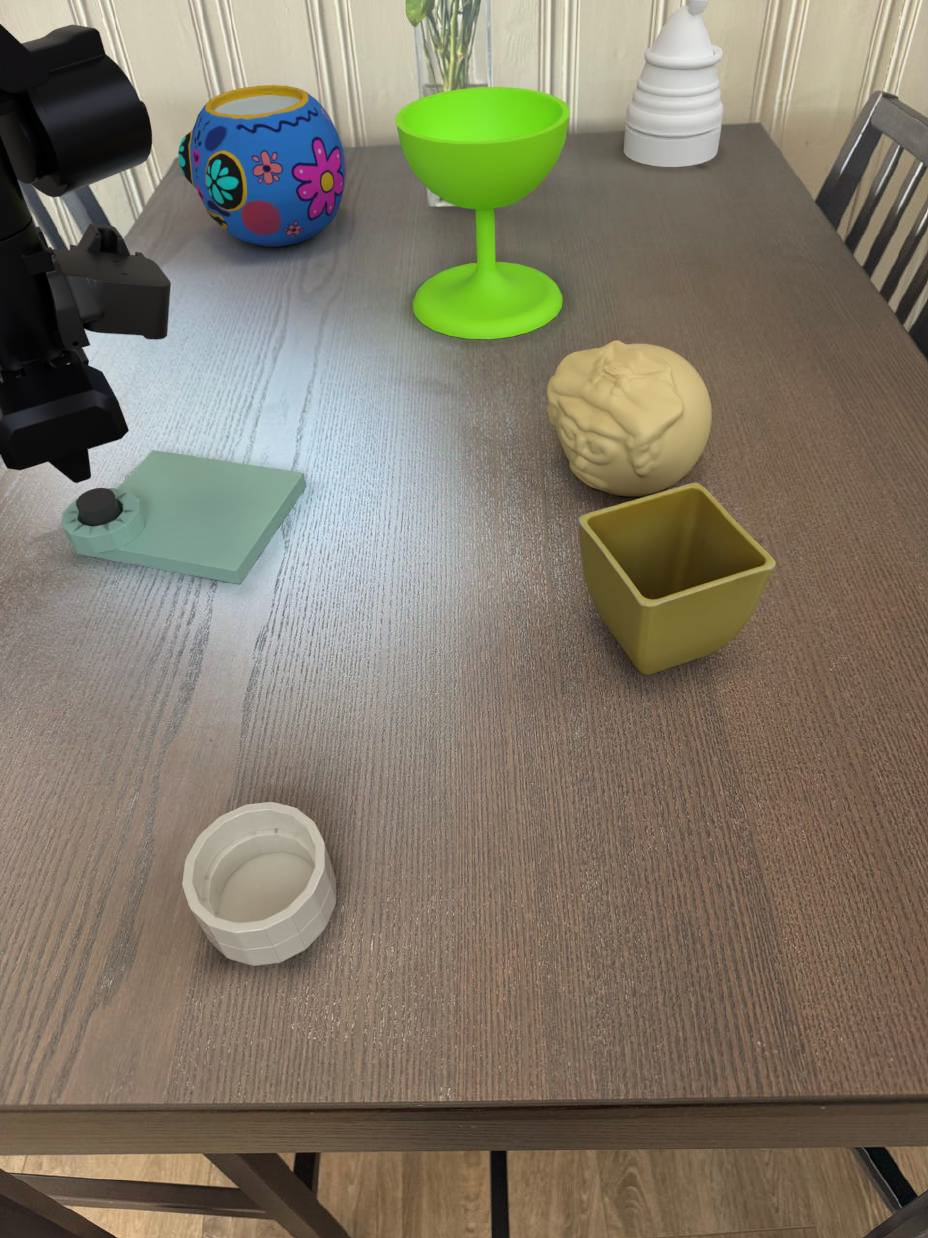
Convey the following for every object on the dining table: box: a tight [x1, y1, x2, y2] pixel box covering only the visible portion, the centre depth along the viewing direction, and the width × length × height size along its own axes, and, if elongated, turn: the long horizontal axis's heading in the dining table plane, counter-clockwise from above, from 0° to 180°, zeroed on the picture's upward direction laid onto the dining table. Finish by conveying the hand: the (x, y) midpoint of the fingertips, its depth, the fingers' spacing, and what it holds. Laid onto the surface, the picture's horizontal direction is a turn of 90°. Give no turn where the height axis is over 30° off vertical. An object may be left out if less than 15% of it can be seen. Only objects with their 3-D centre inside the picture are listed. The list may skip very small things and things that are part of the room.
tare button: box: [76, 487, 121, 527], centre depth 65 cm, size 3×3×2 cm
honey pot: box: [623, 0, 725, 168], centre depth 114 cm, size 13×13×18 cm
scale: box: [60, 449, 307, 585], centre depth 68 cm, size 15×13×3 cm
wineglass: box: [394, 86, 571, 340], centre depth 86 cm, size 16×16×18 cm
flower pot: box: [577, 482, 777, 676], centre depth 55 cm, size 9×9×9 cm
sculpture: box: [546, 339, 713, 498], centre depth 67 cm, size 12×12×11 cm
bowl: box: [181, 801, 337, 967], centre depth 45 cm, size 7×7×4 cm
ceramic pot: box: [177, 84, 347, 247], centre depth 101 cm, size 18×18×15 cm
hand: (82, 478), depth 55 cm, fingers closed
